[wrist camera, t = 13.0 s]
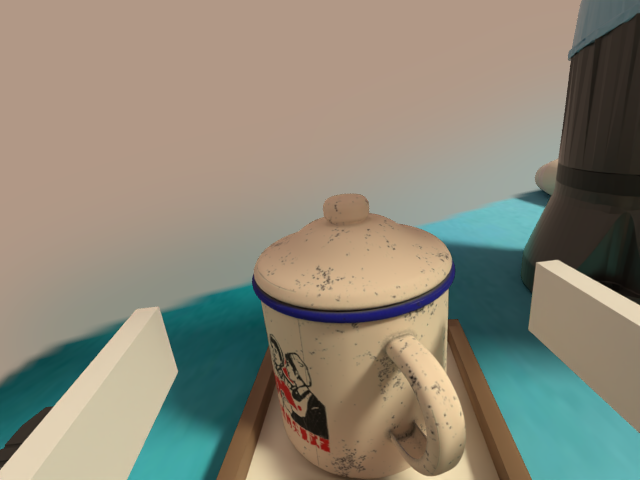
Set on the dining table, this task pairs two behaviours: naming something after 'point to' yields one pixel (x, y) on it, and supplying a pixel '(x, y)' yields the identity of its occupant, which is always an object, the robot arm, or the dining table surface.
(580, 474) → the dining table surface
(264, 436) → the walnut tray
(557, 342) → the robot arm
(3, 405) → the dining table surface
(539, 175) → the ice cream cone
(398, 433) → the teacup with lid
